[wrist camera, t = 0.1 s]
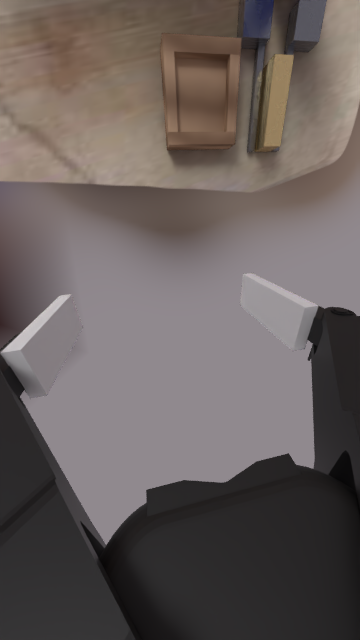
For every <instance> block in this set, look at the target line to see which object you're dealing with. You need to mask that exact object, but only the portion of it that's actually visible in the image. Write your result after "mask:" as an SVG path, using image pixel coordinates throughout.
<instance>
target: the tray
mask: <svg viewBox="0 0 360 640" xmlns="http://www.w3.org/2000/svg"><path fill="white" fill-rule="evenodd" d="M160 54H161V69H162V83H163V98H164V113H165V127H166V142H167V150H203V149H229V148H230V147H232V146H233V145H234V144H235V134H236V118H237V102H238V86H239V70H240V54H241V38H232V37H217V36H201V35H186V34H170V33H162V38H161V46H160Z"/></svg>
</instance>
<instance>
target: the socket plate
mask: <svg viewBox="0 0 360 640" xmlns="http://www.w3.org/2000/svg"><path fill="white" fill-rule="evenodd" d="M326 1H327V0H299V1H298V3H297V4H296V5H295V7H294V8H293V10H292V11H291V12H290V16H289V23H288V31H287V38H286V45H285V53H284V55H293V52H294V51H298V52H309V51H310V50H311V49H312V48H313V47H314V46H315V45H316V44H317V43H318V42H319V38H320V33H321V28H322V22H323V17H324V12H325V6H326ZM273 5H274V0H239V14H238V32H237V38H241V48H246V49H256V54H255V66H254V77H253V89H252V100H251V111H250V123H249V134H248V146H247V152H253V151H254V149H255V140H256V130H257V120H258V110H259V100H260V90H261V80H262V71H263V61H264V51H265V45H266V43H267V42H268V40H269V39H270V33H271V23H272V14H273ZM277 151H279V147H278V148H276V149H274V150H272V151H271V152H277Z"/></svg>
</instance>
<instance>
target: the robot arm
mask: <svg viewBox="0 0 360 640" xmlns="http://www.w3.org/2000/svg"><path fill="white" fill-rule="evenodd" d="M240 306H241V307H243V308H244V309H245V310H246V311H247V312H248V313H249V314H251V315H252V316H253V317H254V318H255V319H256V320H258V321H259V322H260V323H261V324H262V325H263V326H265V327H266V328H267V329H268V330H269V331H270V332H271V333H272V334H274V335H275V336H276V337H277V338H278V339H280V341H282V342H283V343H284V344H285V345H286V346H287V347H289V348H290V349H291V350H292V351H297V350H302V349H305V347H306V344H307V340H309V341H310V342H311V343H313V345H312V348H311V351H310V354H309V357H308V360H309V361H310V359H311V363H312V391H313V420H314V446H315V447H314V449H315V462H314V469H311V468H309V467H304V466H299V465H296V464H295V463H294V461H293V460H292V458H291V456H290V455H289V454H285V455H281V456H277V457H273V458H269V459H265V460H261V461H257V462H255V463H254V464H252V465H251V466H249V467H248V468H247V469H245V470H244V471H242V472H241V473H239V474H238V475H236V476H235V477H233V478H232V479H231V480H229V481H228V482H224V483H216V482H202V481H187V480H183V481H179V482H175V483H172V484H168V485H164V486H160V487H156V488H152V489H148V490H146V492H147V503H146V504H144V505H142V506H141V507H139V508H138V509H137V510H136V511H135V512H133V513H132V514H131V515H130V516H129V517H128V518H127V519H126V520H125V521H124V522H123V523H122V524H121V526H120V527H119V528H118V530H117V531H116V532H115V533H114V535H113V536H112V538H111V539H110V541H109V542H108V544H107V545H105V543H104V541H103V539H102V538H101V536H100V535H99V533H98V532H97V530H96V528H95V527H94V525H93V524H92V522H91V521H90V519H89V517H88V515H87V514H86V512H85V510H84V508H83V507H82V505H81V503H80V501H79V500H78V498H77V496H76V495H75V493H74V491H73V489H72V487H71V486H70V484H69V482H68V480H67V478H66V477H65V475H64V473H63V471H62V470H61V468H60V466H59V464H58V463H57V461H56V459H55V457H54V456H53V454H52V452H51V451H50V449H49V447H48V445H47V443H46V442H45V440H44V438H43V436H42V435H41V433H40V431H39V429H38V428H37V426H36V424H35V422H34V421H33V419H32V417H31V415H30V413H29V412H28V410H27V408H26V406H25V405H24V403H23V401H22V400H21V398H20V395H21V394H22V392H23V391H24V390H25V392H26V393H27V395H28V396H29V398H35V397H41V396H47V395H48V393H49V391H50V389H51V387H52V385H53V383H54V382H55V380H56V378H57V376H58V374H59V372H60V370H61V368H62V367H63V365H64V363H65V361H66V359H67V357H68V355H69V353H70V351H71V349H72V348H73V346H74V344H75V342H76V340H77V338H78V336H79V334H80V333H81V330H82V329H83V325H82V322H81V319H80V317H79V314H78V312H77V308H76V306H75V303H74V300H73V297H72V295H71V294H70V295H62V296H59V297H58V298H57V299H56V300H55V301H54V302H53V303H52V304H51V305H50V306H49V307H48V308H47V309H46V310H45V311H44V312H43V313H41V314H40V315H39V316H38V317H37V318H36V319H35V320H34V321H33V322H32V323H31V324H30V325H29V326H28V327H27V328H26V329H25V330H24V331H22V332H21V333H19V334H17V335H15V336H14V337H13V338H12V339H11V340H10V341H9V343H7V344H5V345H4V346H3V348H1V349H0V640H360V316H356V314H355V313H354V312H352V311H350V310H347V309H344V308H339V307H328V308H326V309H324V308H322V307H320V306H318V305H316V304H314V303H312V302H310V301H308V300H306V299H304V298H302V297H300V296H298V295H295V294H294V293H292V292H290V291H287V290H286V289H283V288H281V287H279V286H277V285H275V284H273V283H271V282H269V281H267V280H265V279H263V278H261V277H259V276H257V275H255V274H253V273H249V274H243V280H242V290H241V300H240Z"/></svg>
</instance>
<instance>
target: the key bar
mask: <svg viewBox="0 0 360 640" xmlns="http://www.w3.org/2000/svg"><path fill="white" fill-rule="evenodd" d="M293 58H294V55H283V54H275V55H274V56H273V57H272V58H271V60H270V61H269V62H268V63H267V65H266V66H265V67H264V68H263V75H262V85H261V95H260V105H259V114H258V124H257V134H256V144H255V152H270V151H272V150H274V149H276V148H278V147H280V145H281V138H282V131H283V125H284V118H285V112H286V105H287V98H288V92H289V85H290V78H291V72H292V65H293Z"/></svg>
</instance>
